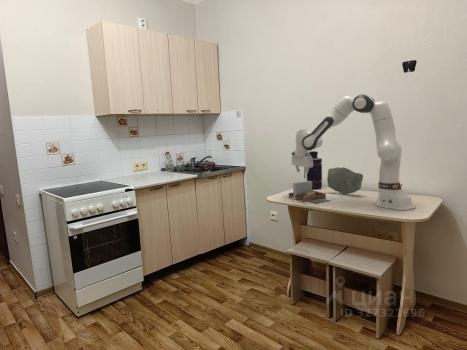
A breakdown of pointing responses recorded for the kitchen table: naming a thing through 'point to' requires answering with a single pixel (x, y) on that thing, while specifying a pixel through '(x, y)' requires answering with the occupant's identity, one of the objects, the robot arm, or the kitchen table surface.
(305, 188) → the blue-gray rectangular block
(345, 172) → the rock
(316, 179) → the grenade
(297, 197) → the rack
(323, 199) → the mat
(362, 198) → the kitchen table surface
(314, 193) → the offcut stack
